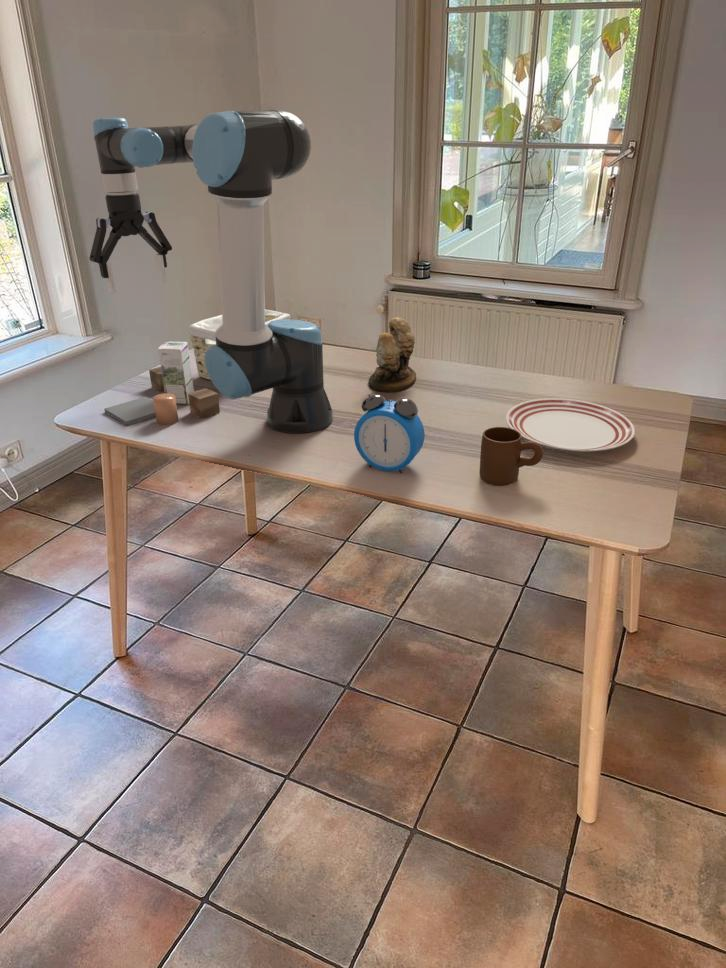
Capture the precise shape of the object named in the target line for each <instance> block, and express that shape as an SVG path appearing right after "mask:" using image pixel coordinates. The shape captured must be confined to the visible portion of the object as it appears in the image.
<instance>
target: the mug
mask: <svg viewBox="0 0 726 968" xmlns="http://www.w3.org/2000/svg"><path fill="white" fill-rule="evenodd" d="M522 438H523V437H522V436H521V434H520V432H518V431H517V430H514V429H511V428H510V427H507V426H506V427H505V426H493V427H490V428H487V429H485V430H484V431H483V432H482V437H481V445H480V456H479V457H480V458H479V459H480V461H479V477H480V479H481V481H483V482H484V483H486V484H488V485H491V486H494V487H495V486H496V487H505V486H510V485H513V484H514V483H516V482H517V480H518V478H519V474H520V468H523V467H524V466H526V467H532V466H535V465H537V464H539V463H540V462H541V461H542V459H543V456H544V451H543V446H541V445H539V444H538V443H536V442H533V441H529V440H527V441H522ZM528 450H532V451H534V454H533V456H531V457H530V456H522V455H521V454H522V451H528Z"/></svg>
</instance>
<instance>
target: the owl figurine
mask: <svg viewBox="0 0 726 968" xmlns="http://www.w3.org/2000/svg"><path fill="white" fill-rule="evenodd" d="M388 328H389V332H381V333H379V334H378V339H377V343H376V347H375V351H376V352H375V353H376V355H375V356H376V359H375V360H376V364H377V365H378V366H377V367H376V368H375V371H374V372H373V373H372V374H371V375H370V376H369V378H368V386H369V388H371V389H373V391H377V392H380V393H398V392H401V391H405V390H406V389H407V390H408V388H411V386H413V385H414V384H415V382H416V380H417V373H416V371H415V370H414V369H413V368H411V367H410V366H409V364H410V360H411V357H412V356H411V355H413V353H414V348H415V343H416V342H415V340H416V339H415V338H416V337H415V334H414V332H413V331H412V328H411V326H410V324H409V322H408V321H407V320H405V319H403V318H402V317H396V316H394V317H392V318H390V320H389V322H388Z"/></svg>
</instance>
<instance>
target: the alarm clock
mask: <svg viewBox="0 0 726 968" xmlns="http://www.w3.org/2000/svg"><path fill="white" fill-rule="evenodd" d="M361 409H362V411H363V412H365V413H364V414H363V415H362V416H361V417H360V418H359V419H358V421H357V422H356V424H355V427H354V433H353V438H354V439H353V440H354V444H355V447H356V450H357V452H358V454H359V456H360V457H361V458H362V459H363V460H364V461H365V462H366V463H367V464H368V465H369V466H368V467H369V468H371V467H373V468H374V469H378V470H379V471H384V472H396V471H398V472H399V473H400V474H403V471H402V469H405V468H406V467H407V466H408V465H409V464H411V462H412V461H413V460H414V459H415V457H416V456H417V455H418V454H419V453H420V451H421V449H422V448H423V445H424V442H425V436H426V435H425V427H424V425H423V422H422V420H421V418H420V416H419V415H418V412H419V409H418V406H417V404H416V402H414V401H413V400H412V399H410V398H409V397H408V398H406V397H402V398H398V399H397V400H396V401H395V400H393V399H388V398H387V399H386V398H385V397H384V396H383V395H382V394H379V393H373V394H368V396H366V398H364V400H363V401H362V403H361Z"/></svg>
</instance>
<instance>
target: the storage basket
mask: <svg viewBox="0 0 726 968" xmlns="http://www.w3.org/2000/svg"><path fill="white" fill-rule="evenodd" d="M283 319H289V320H291V315H290V314H289V313H287V312H285V313H284V312H280V311H276V310H270V309H266V308H265V325H266V326H267V327H268V324H269V323H270V322H271V321H274V320H283ZM222 324H223V323H222V314H220V315H216V316H212V317H209V318H205V319H202V320H199V321H197V322H195V323H192V324H189V326H188V327H189V330H188V331H189V335H190V341H191V343H192V349H193V354H194V358H195V359H194V360H195V364H196V365H195V366H196V369H197V373H198V376H199V377H200V378H203V379H205V380H210V381H211V379H210V377H209V375H208V372H207V369H206V365H205V353H206V352H207V350H208V349H209V348H210V347H211V346H216V336H215V333H216V330H217V329H218V328H219V327H220V326H221V325H222Z"/></svg>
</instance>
